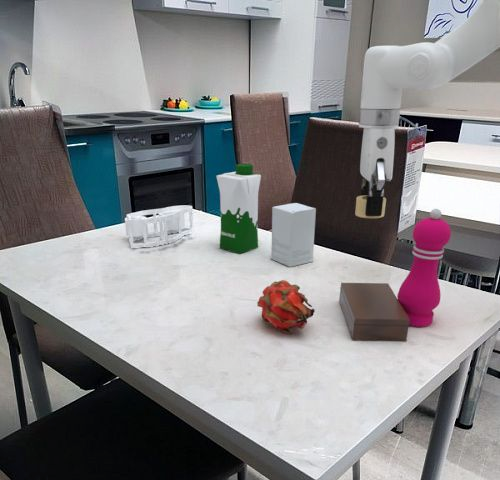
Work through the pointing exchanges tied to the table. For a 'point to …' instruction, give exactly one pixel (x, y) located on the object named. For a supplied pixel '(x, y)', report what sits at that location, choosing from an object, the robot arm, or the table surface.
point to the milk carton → (239, 209)
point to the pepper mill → (424, 270)
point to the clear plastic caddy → (172, 224)
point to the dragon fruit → (284, 306)
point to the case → (373, 312)
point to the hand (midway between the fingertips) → (370, 211)
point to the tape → (362, 207)
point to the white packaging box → (293, 234)
